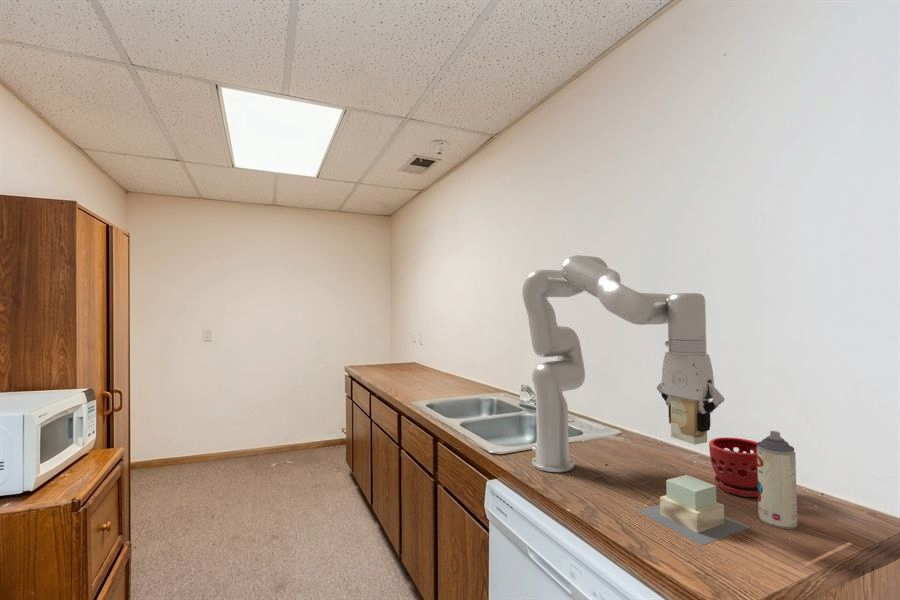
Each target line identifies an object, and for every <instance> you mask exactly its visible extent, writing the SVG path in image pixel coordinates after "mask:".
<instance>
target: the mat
mask: <svg viewBox="0 0 900 600" xmlns="http://www.w3.org/2000/svg"><path fill="white" fill-rule="evenodd" d="M636 512H637V513H639V514H641V515H643V516H644V517H647V518H649V519H650V520H652V521H654V522H656V523H659V524H661V525H662V526H664V527H666V528H668V529H670V530H672V531H673V532H675V533H677V534H679V535H682V536H683V537H685V538H687V539H689V540H691V541H692V542H695V543H696V544H699V545H700V546H705V545H708V544H711V543H714V542H716V541H718V540H721V539H723V538H726V537H729V536H732V535H733V534H736V533H740V532H742V531H745V530H748V529H750V528H751V526H749V525H747V524H745V523H742V522H740V521H738V520H736V519H733V518H731V517H729V516H726V515H724V524H721V525H718V526H716V527H713V528H710V529H707V530H704V531H702V532H699V533H696V532H694V531H692V530H690V529H688V528H686V527H684V526H682V525H680V524H678V523H676V522H674V521H672V520H670V519H668V518H666V517H664V516H662V515H660V503H659V504H656V505H653V506H650V507H646V508H643V509H640V510H637V511H636Z"/></svg>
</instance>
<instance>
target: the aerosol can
mask: <svg viewBox="0 0 900 600" xmlns="http://www.w3.org/2000/svg"><path fill="white" fill-rule="evenodd" d="M765 437H766V438H763V439H762V440H761V441H757V442H758V443H757V444H758V445H757V476H758V497H757V501H758V502H757V505H758V509H757V510H758V512H757V513H758V519H759V520H760V521H761V522H763V523H765V524H766V525H769V526H772V527H774V528H779V529H784V530H786V529H787V530H793V529H796V528H797V527H798V499H797V498H798V497H797V496H798V495H797V468H796V466H797V462H796V461H797V460H796V458H797V457H796V452H795V447H793V446H792V445H790V444H789V443H788V441H786V440H785V439H784V438H782V437H781V432H779V431H777V430H770V432H769V435H768V436H765Z"/></svg>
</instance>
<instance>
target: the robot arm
mask: <svg viewBox="0 0 900 600" xmlns="http://www.w3.org/2000/svg"><path fill="white" fill-rule="evenodd" d="M584 292H586V293H587V294H590V295H591V296H594V297H596V298H597V299H598V300H599V302H600V304H601V305H602V306H603V307H604V308H605V309H606V310H607V311H609V312H610V313H612V314H613V315H615V316H617V317H619V318H621V319H623V320H624V321H626V322H628V323H631V324H633V325H638V326H644V325H645V326H646V325H661V324H662V325H664V324H667V335H668V340H666V341H665V342H664V346H665V347H668V351H666V352H665V353H664V356H663V357H664V358H663V363H662V370H661V382H660V383H659V384H658V385H657V386H656V390H657V391H658V392H659V394H660V395H661V397H662V399H663V400H664V401H665V405H666V406H667V407H668V424H670V425H671V396H674V397H678V398H683V399H688V400H694V401H697V405H698V408H699V410H700V413H698V414H697V425H698V431H700V432H704V431H707V432H709V431H710V430H711V426H712V425H711V413H713V412H714V410H715V409H717V408H718V407H719V406H720V405H721V404H722V403H723V402H724V401H725V397H724V396H723V395H722V394H721V392H720V391H718V389H717V388H716V387H715V379H714V378H715V377H714V372H713V366H712V365H713V364H712V360H711V357H710V354H707V320H706V319H707V317H706V316H707V315H706V298H705V296H704V295H703V294H701V293H699V292H698V293H697V292H681V293H680V292H679V293H678V292H677V293H672V294H669V293H656V292H655V293H653V292H651V293H650V292H643V293H642V292H640V291H636V290H635V289H633V288H630V287H628V286H627V285H624V284H622V283H621V276H620V274H619V272H617V270H614V269H612V268H609V267H608V264H607V263H606V262H605V260H604V259H602V258H600V257H597V256H592V255H590V256H589V255H581V254H579V255H578V254H577V255H571V256H569V257H567V258H566V259H565V260H564V261H563V262H562V264H561V266H560V270H557V269H538V270H534V271H533V272H531V273H530V274H528V275H527V277H526V278H525V280H524V282H523V285H522V292H521V293H522V301H523V304H524V306H525V307H524V308H525V310H526V313H527V318H528V325H529V326H528V327H529V332H530V333H529V334H530V337H531V339H530V340H531V345H532V349H533V352H534V353H535V355H536V356H538V357H541V358H555V357H557V360H553V361H551V360H550V361H545V362H541V363H539V364H538V365H537V366H536V367H535V368H534V370H533V371H532V376H531V379H532V385H533V390H534V393H535V394H534V395H535V411H536V413H535V414H536V444H535V446H532V448H531V450H532V451H533V452H534V453H535V456H534V457H533V458H532V459H531V465H532V466H533V467H534V468H536V469H537V470H540V471H544V472H550V473H566V472H569V471H571V470H573V469H574V468H575V461H574V460H573V459H571V458H570V451H569V450H570V447H569V446H570V445H569V443H570V442H569V407H568V403H567V401H566V398H565V395H564V394H563V392H567V391H574V390H577V389H579V388H581V387H582V386H583V384H584V382H585V378H586V374H585V373H586V372H585V370H586V369H585V364H584V358H583V352H582V347H581V343H580V338H579V337H578V334H577V333H576V331H575V330H574V329H573V328H571V327H569V326H565V325H561V326H560V325H558V323H557V317H556V312H555V310H554V308H553V305H552V304H551V303H550V301H549V300H548V298H570V297H573V296H577V295H579V294H581V293H584ZM711 399H712V400H711ZM703 401H704V403H703ZM704 405H705V406H704Z"/></svg>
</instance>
